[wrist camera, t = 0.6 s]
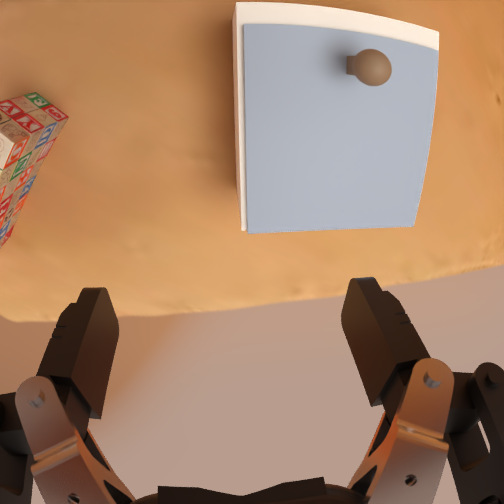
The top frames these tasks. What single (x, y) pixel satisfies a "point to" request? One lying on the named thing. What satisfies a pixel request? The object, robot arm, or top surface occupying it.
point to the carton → (303, 17)
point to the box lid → (334, 128)
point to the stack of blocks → (23, 151)
